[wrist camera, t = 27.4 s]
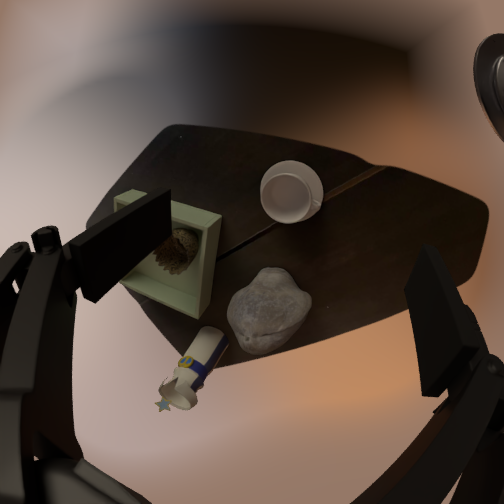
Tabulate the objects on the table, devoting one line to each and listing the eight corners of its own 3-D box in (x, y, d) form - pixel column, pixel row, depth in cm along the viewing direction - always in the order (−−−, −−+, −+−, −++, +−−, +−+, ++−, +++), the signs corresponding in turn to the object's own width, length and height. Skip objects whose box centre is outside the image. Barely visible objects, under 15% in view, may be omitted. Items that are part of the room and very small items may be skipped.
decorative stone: (308, 259, 48) (291, 313, 35) (321, 307, 51) (308, 366, 39) (231, 272, 54) (196, 321, 41) (249, 314, 58) (222, 367, 45)
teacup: (255, 209, 47) (245, 218, 43) (269, 152, 42) (261, 156, 38) (312, 229, 45) (308, 241, 41) (331, 172, 40) (330, 178, 36)
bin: (222, 215, 49) (207, 227, 44) (210, 303, 60) (198, 319, 55) (132, 189, 53) (113, 197, 48) (134, 270, 63) (119, 283, 58)
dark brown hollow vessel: (193, 211, 50) (169, 227, 43) (217, 244, 51) (196, 265, 45) (168, 229, 53) (144, 247, 47) (190, 260, 55) (169, 280, 48)
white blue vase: (191, 324, 65) (134, 402, 44) (222, 324, 62) (167, 412, 40) (204, 349, 68) (155, 426, 47) (233, 350, 65) (187, 435, 43)
